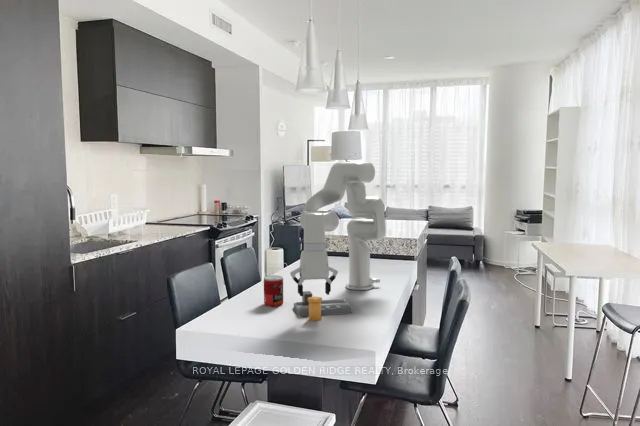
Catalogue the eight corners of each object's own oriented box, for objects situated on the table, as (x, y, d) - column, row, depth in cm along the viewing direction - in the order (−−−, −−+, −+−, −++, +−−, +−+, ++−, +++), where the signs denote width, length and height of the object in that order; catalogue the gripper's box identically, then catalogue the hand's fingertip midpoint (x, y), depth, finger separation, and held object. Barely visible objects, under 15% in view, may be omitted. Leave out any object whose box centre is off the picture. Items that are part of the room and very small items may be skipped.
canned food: (275, 307, 182) (275, 280, 181) (260, 305, 186) (259, 278, 185) (287, 303, 188) (287, 276, 187) (271, 300, 193) (271, 274, 192)
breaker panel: (342, 304, 186) (342, 296, 186) (351, 312, 175) (351, 304, 175) (293, 307, 182) (293, 300, 182) (299, 316, 170) (299, 308, 170)
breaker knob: (310, 303, 179) (309, 291, 179) (312, 306, 175) (312, 293, 175) (302, 304, 179) (302, 291, 178) (304, 307, 174) (304, 294, 174)
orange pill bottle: (320, 316, 171) (320, 296, 170) (323, 320, 166) (323, 299, 165) (306, 317, 170) (306, 297, 169) (309, 321, 164) (309, 300, 164)
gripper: (335, 245, 171) (334, 291, 172) (288, 246, 167) (288, 293, 168) (340, 248, 164) (340, 295, 165) (292, 249, 160) (292, 298, 161)
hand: (314, 294), depth 166 cm, fingers open, 9 cm apart
